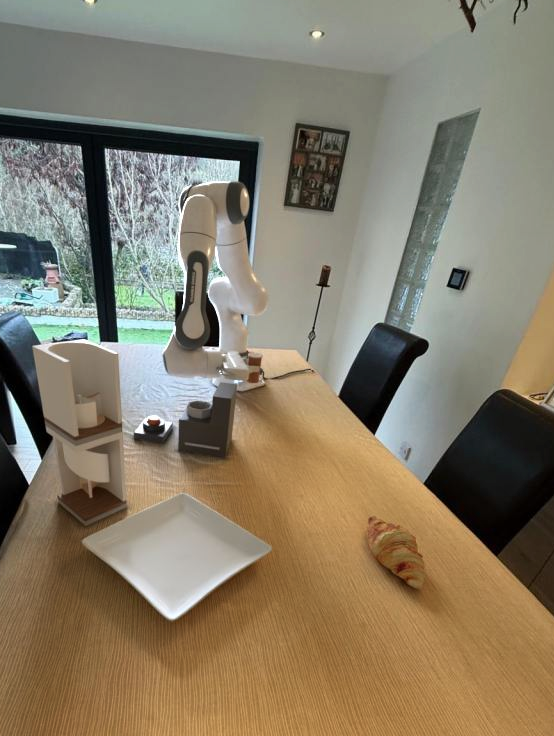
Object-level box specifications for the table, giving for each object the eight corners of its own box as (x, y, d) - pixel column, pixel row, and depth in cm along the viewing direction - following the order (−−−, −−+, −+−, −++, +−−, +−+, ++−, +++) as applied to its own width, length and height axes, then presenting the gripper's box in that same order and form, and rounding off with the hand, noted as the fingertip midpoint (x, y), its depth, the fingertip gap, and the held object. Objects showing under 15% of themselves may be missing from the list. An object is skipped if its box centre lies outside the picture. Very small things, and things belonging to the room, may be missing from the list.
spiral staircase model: (58, 502, 95) (32, 345, 76) (98, 486, 102) (84, 338, 82) (85, 525, 89) (64, 361, 70) (126, 507, 96) (118, 353, 76)
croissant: (424, 603, 83) (455, 577, 80) (392, 591, 79) (423, 563, 75) (374, 534, 100) (397, 510, 97) (345, 521, 95) (369, 496, 92)
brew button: (149, 419, 128) (149, 414, 127) (161, 421, 128) (161, 416, 127) (146, 424, 125) (146, 419, 124) (157, 426, 125) (157, 420, 124)
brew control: (145, 424, 134) (145, 412, 131) (172, 428, 133) (172, 416, 131) (133, 439, 124) (133, 426, 122) (163, 443, 124) (163, 431, 121)
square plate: (272, 560, 85) (275, 546, 83) (170, 637, 68) (171, 621, 65) (183, 502, 99) (183, 488, 97) (80, 553, 82) (78, 537, 80)
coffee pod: (253, 377, 139) (256, 352, 134) (262, 382, 136) (265, 356, 131) (242, 379, 137) (245, 353, 132) (251, 384, 134) (254, 357, 129)
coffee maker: (187, 434, 130) (189, 377, 120) (231, 440, 129) (237, 384, 119) (177, 451, 120) (179, 391, 110) (225, 459, 119) (231, 399, 109)
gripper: (220, 364, 121) (266, 366, 124) (210, 345, 138) (251, 347, 140) (218, 385, 125) (263, 386, 127) (209, 364, 141) (249, 365, 144)
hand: (256, 365), depth 134 cm, fingers closed on coffee pod, 4 cm apart
